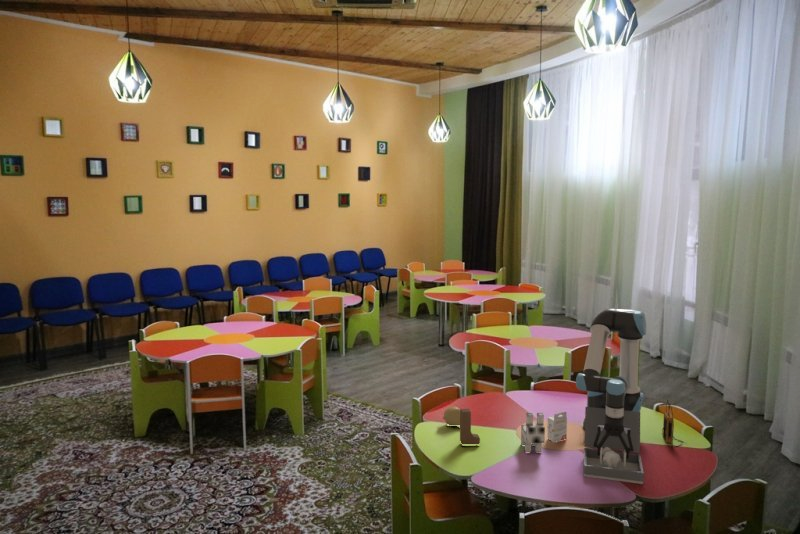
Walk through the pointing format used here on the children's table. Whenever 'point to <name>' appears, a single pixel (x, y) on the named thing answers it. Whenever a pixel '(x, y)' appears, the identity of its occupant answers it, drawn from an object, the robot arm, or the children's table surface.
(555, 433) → the ink cartridge box
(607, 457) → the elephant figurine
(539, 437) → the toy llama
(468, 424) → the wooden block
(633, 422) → the case lid
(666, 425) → the multimeter
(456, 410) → the toy pig
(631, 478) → the case
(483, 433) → the children's table surface
